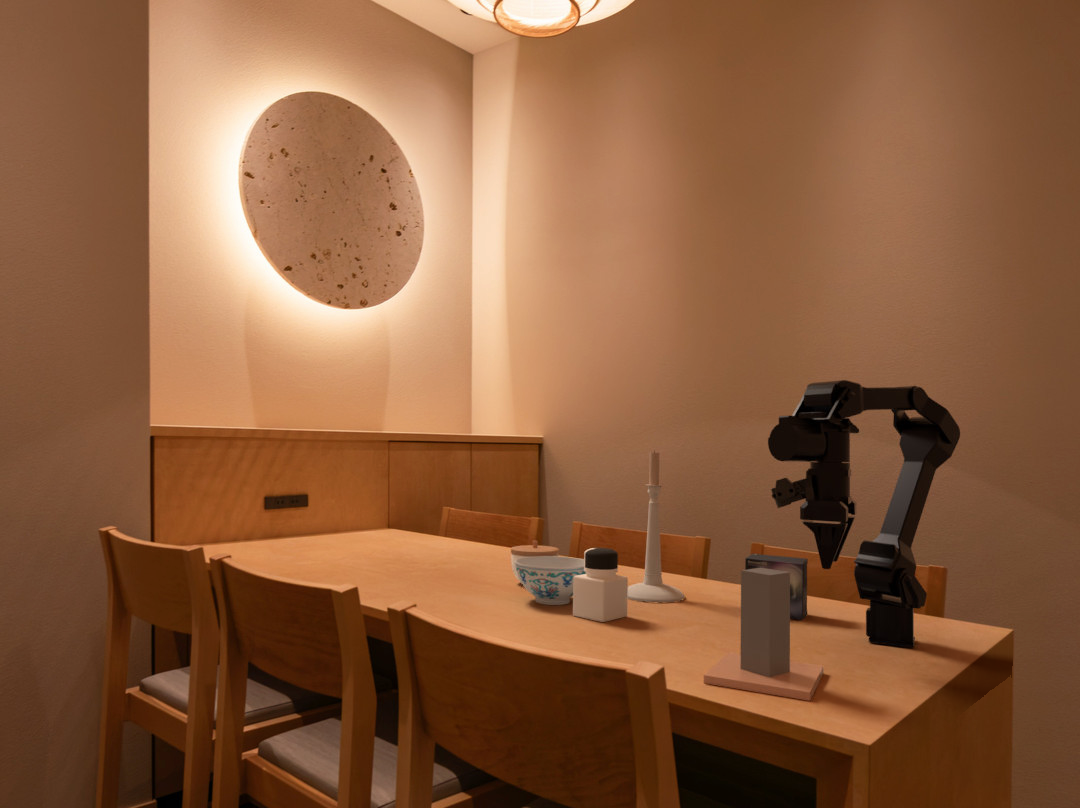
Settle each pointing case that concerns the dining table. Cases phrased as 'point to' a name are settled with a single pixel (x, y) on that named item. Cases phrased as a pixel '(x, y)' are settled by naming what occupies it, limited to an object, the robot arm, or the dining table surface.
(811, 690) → the terracotta tile
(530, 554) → the lidded jar
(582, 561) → the chinaware
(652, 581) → the candlestick
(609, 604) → the medicine bottle
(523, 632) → the dining table surface
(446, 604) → the dining table surface
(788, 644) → the grey block
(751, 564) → the small box
